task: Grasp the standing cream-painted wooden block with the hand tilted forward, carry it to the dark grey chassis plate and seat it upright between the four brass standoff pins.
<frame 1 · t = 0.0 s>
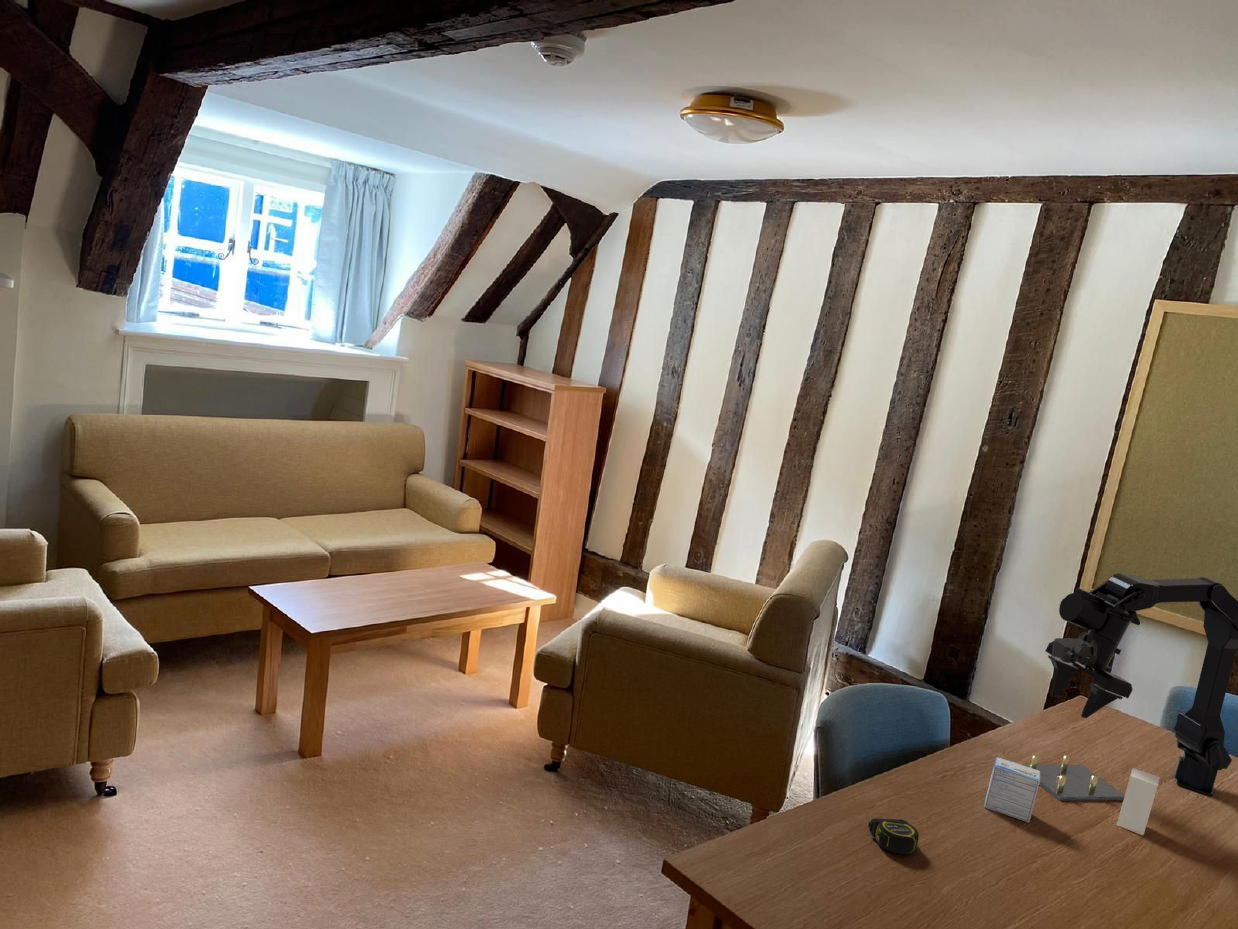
hand: (1068, 706, 190), 15 cm above the table, tool pointing down, fingers open, 9 cm apart
block: (1131, 825, 178), on the table
tape measure: (889, 845, 158), on the table
medicine box: (1006, 812, 176), on the table
chassis: (1070, 783, 191), on the table
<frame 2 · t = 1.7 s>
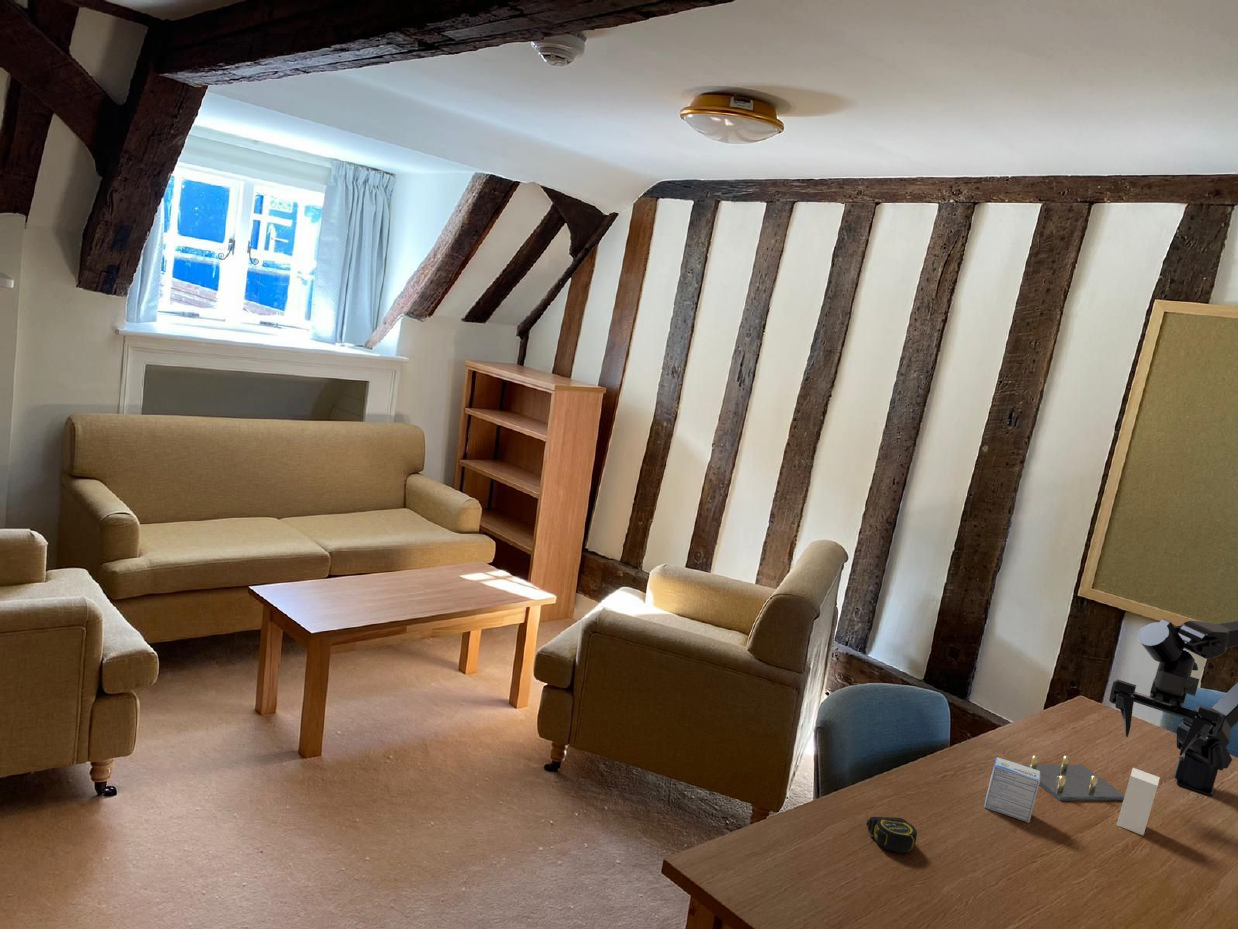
hand: (1153, 745, 183), 13 cm above the table, tool tilted 45°, fingers open, 9 cm apart
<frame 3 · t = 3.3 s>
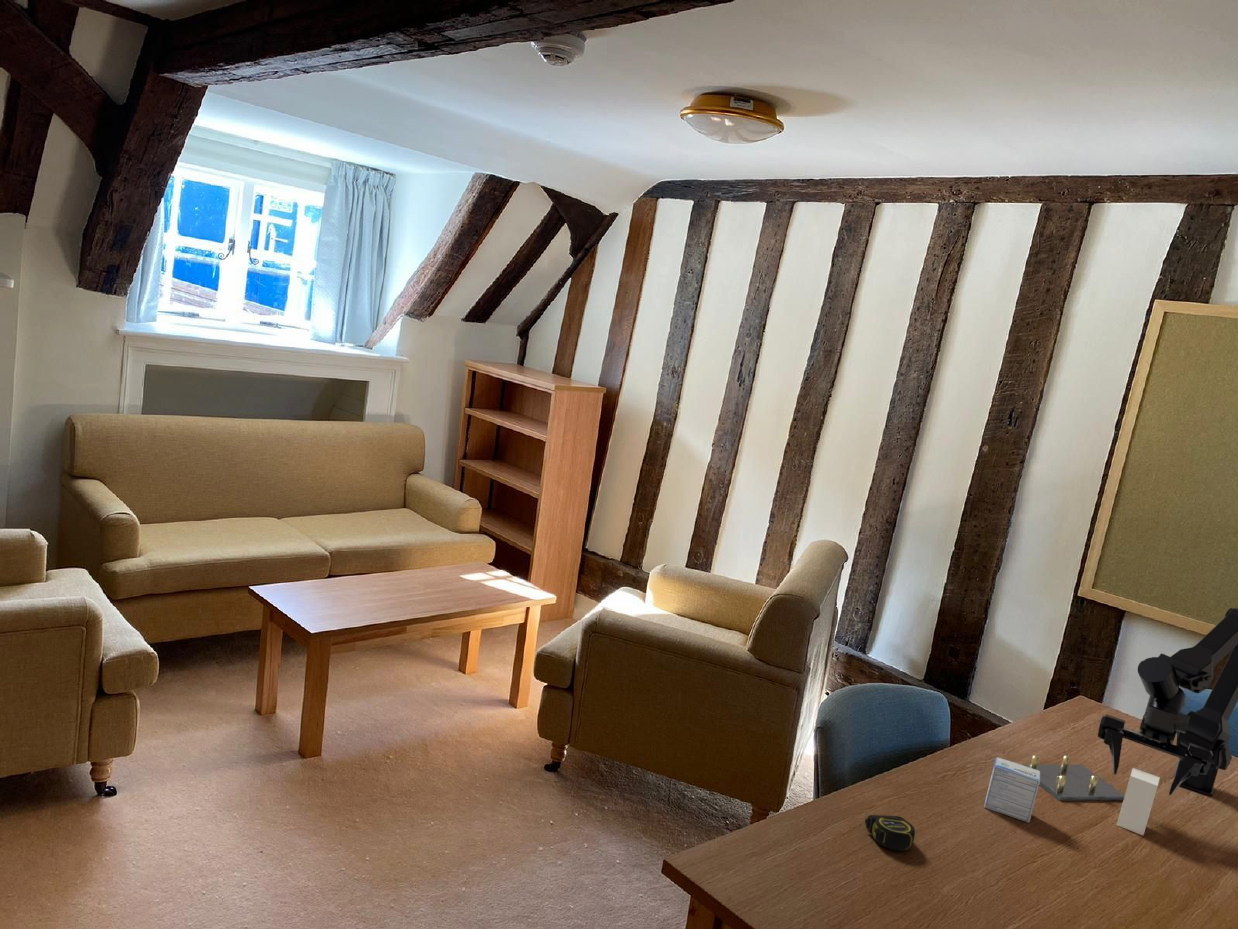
hand: (1142, 783, 177), 8 cm above the table, tool tilted 45°, fingers open, 9 cm apart
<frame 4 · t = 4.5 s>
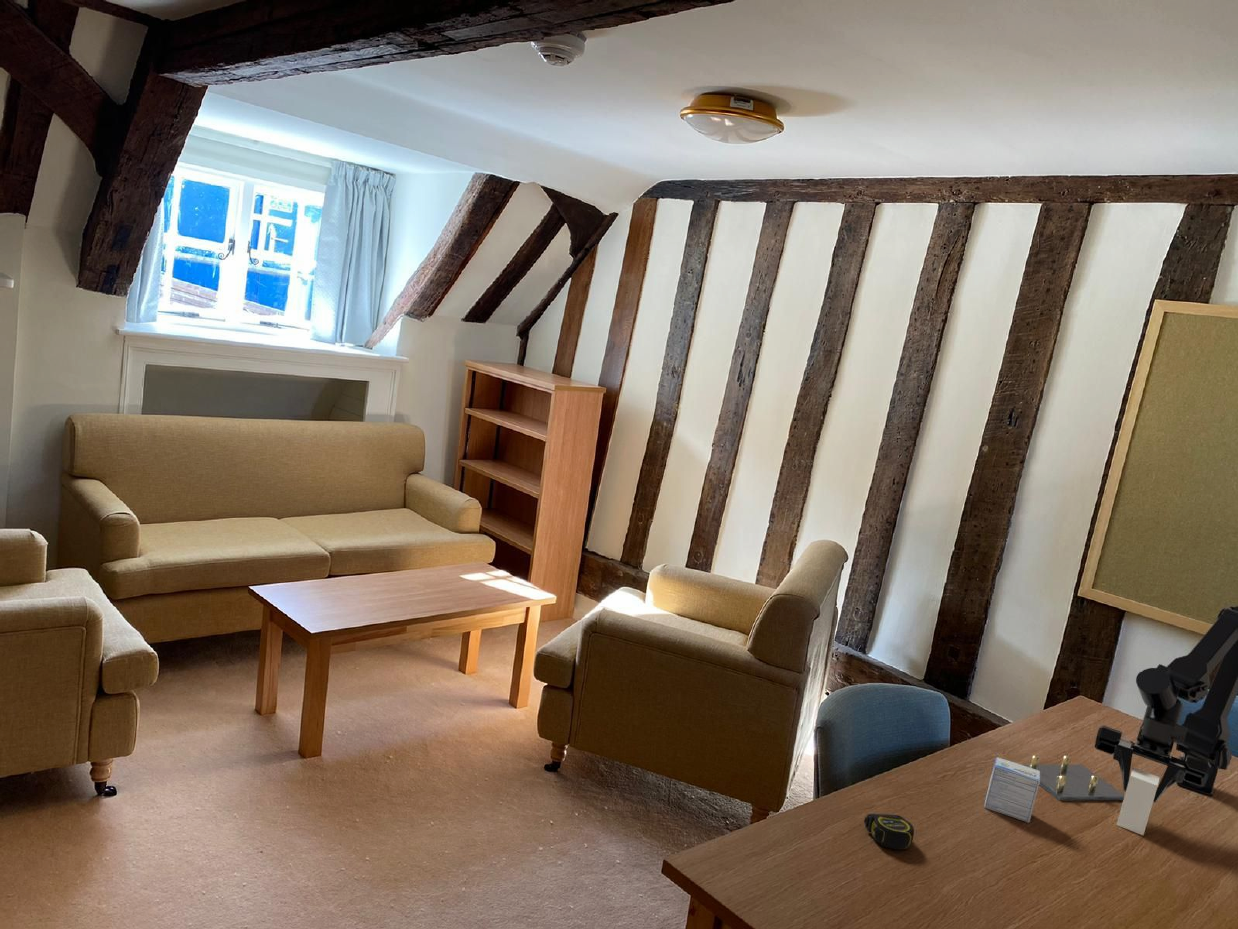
hand: (1139, 796, 176), 7 cm above the table, tool tilted 45°, fingers closed on block, 4 cm apart
block: (1131, 825, 178), on the table, touching gripper
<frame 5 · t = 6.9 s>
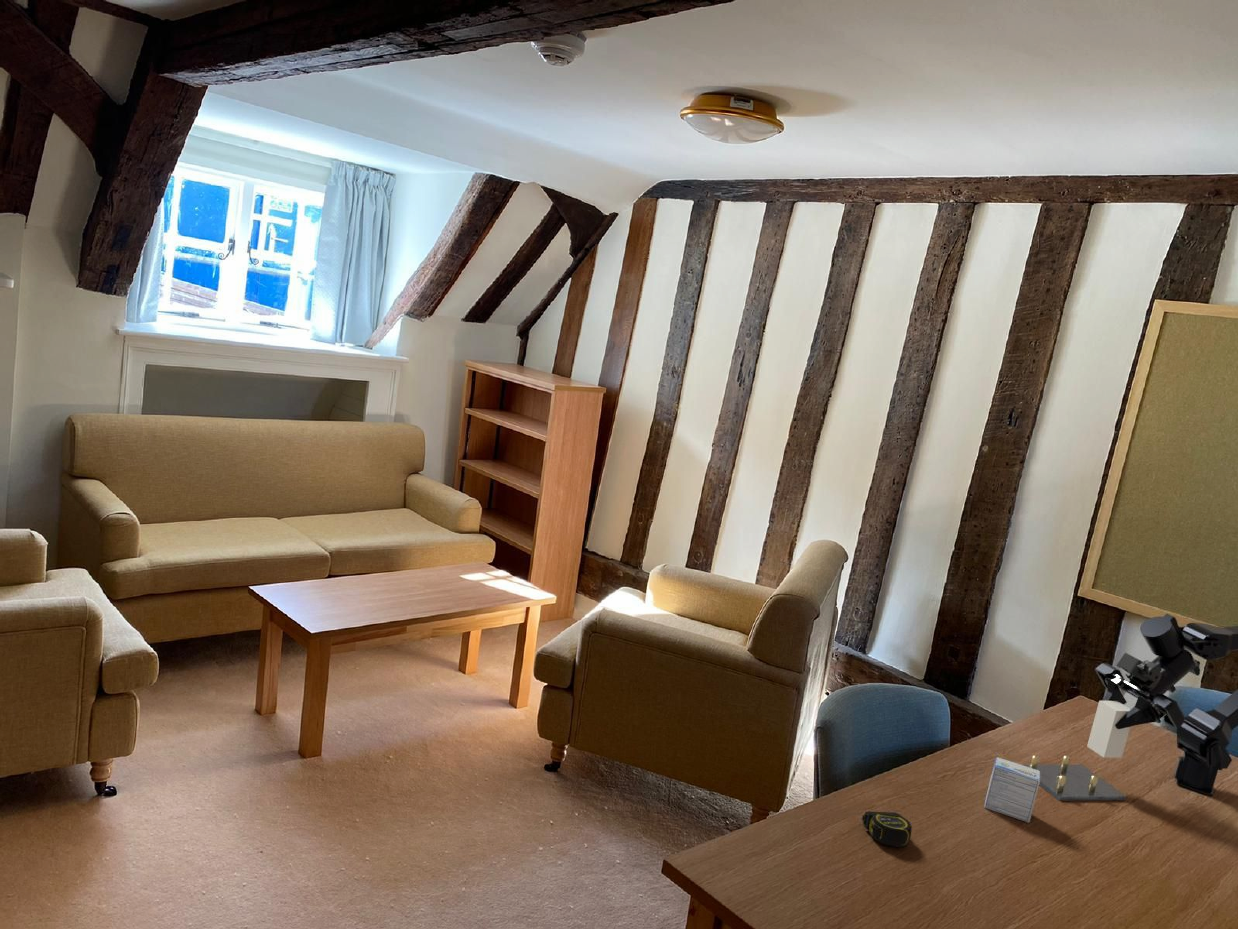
hand: (1107, 721, 190), 14 cm above the table, tool tilted 45°, fingers closed on block, 4 cm apart
block: (1104, 752, 192), point 7 cm above the table, touching gripper
when the fingers open (9 cm above the table, at t = 9.1 s): block drops 1 cm, resting on chassis.
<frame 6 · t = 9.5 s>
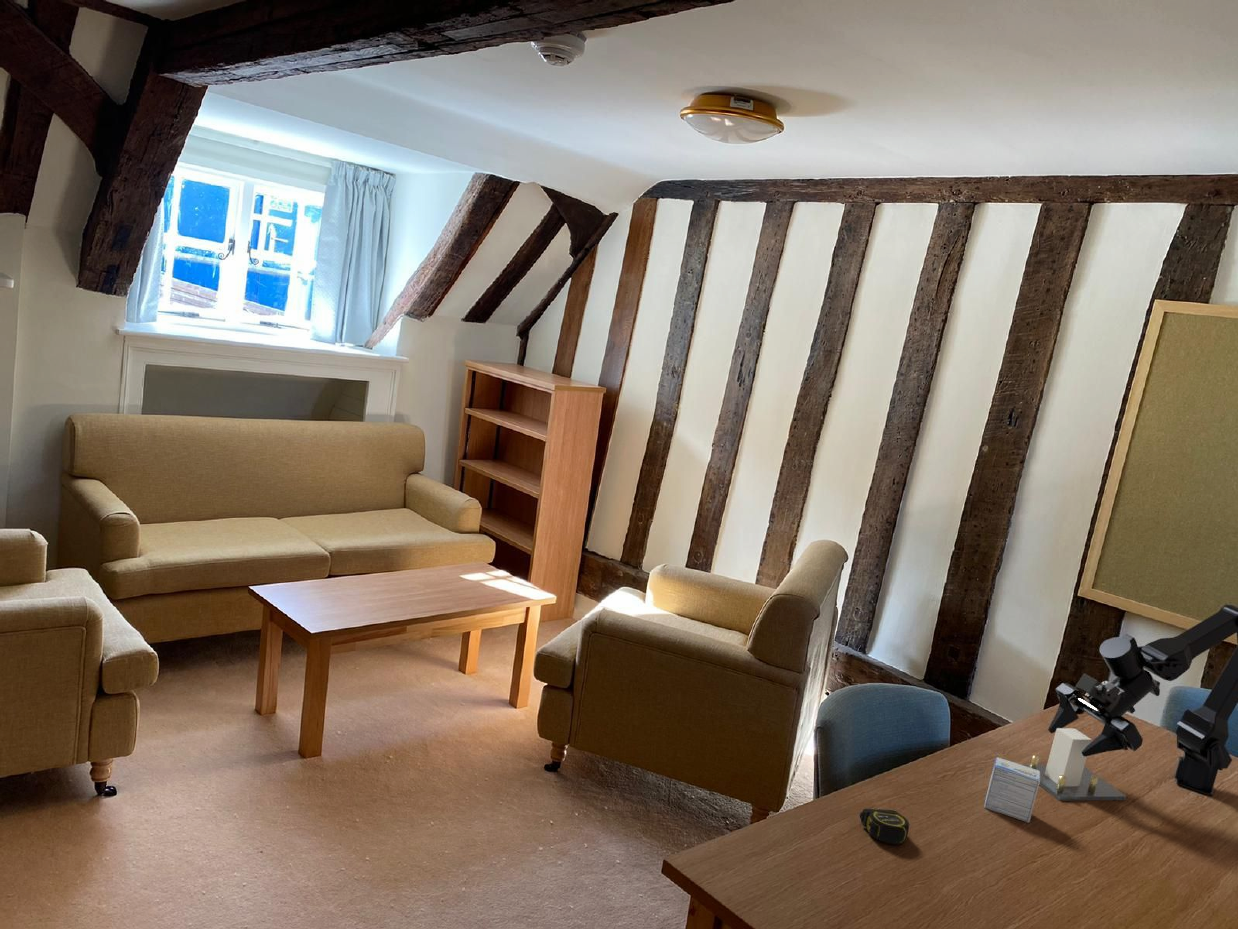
hand: (1065, 743, 189), 9 cm above the table, tool tilted 45°, fingers open, 9 cm apart
block: (1061, 780, 191), point 1 cm above the table, touching chassis
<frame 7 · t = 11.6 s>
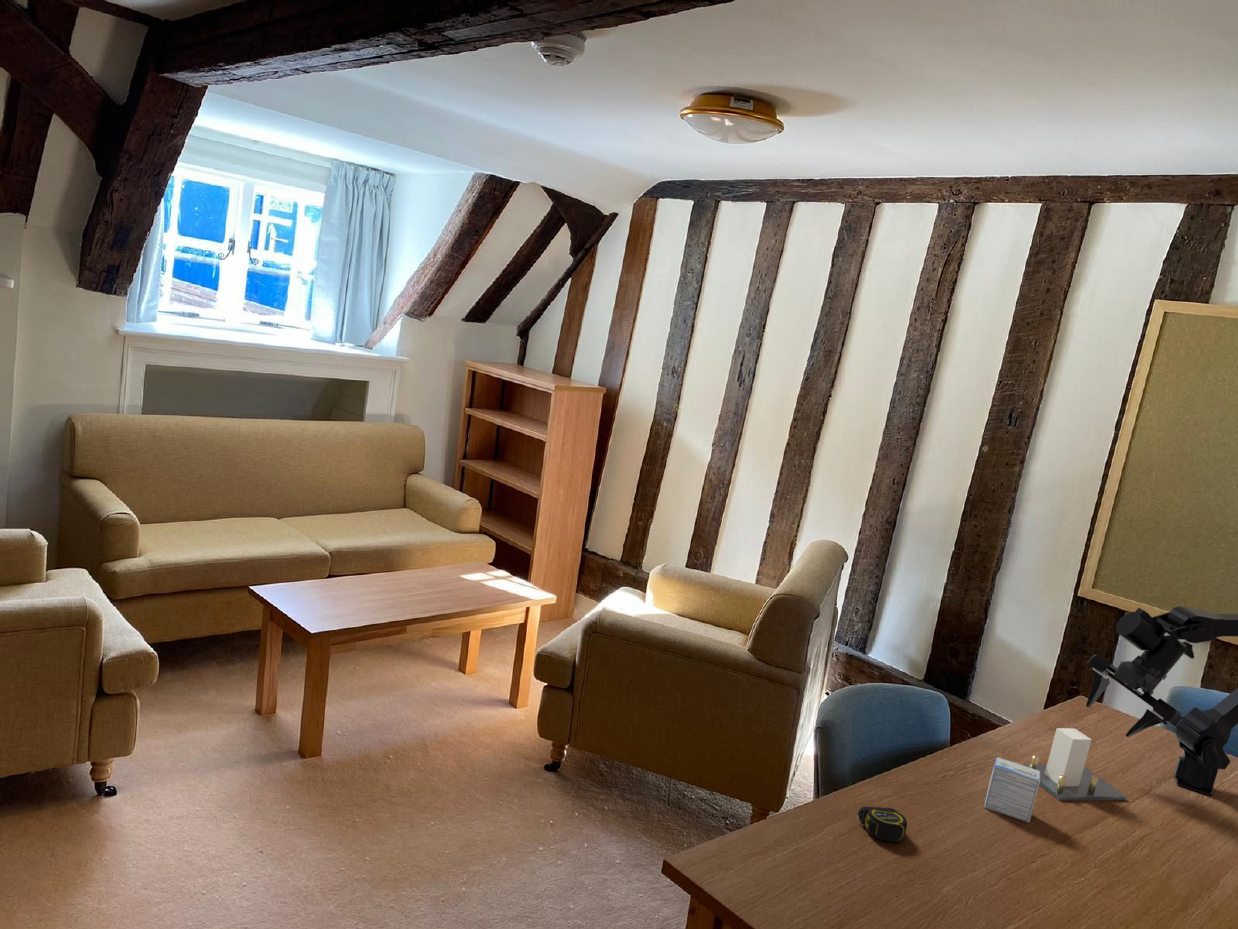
hand: (1106, 721, 196), 11 cm above the table, tool tilted 25°, fingers open, 9 cm apart
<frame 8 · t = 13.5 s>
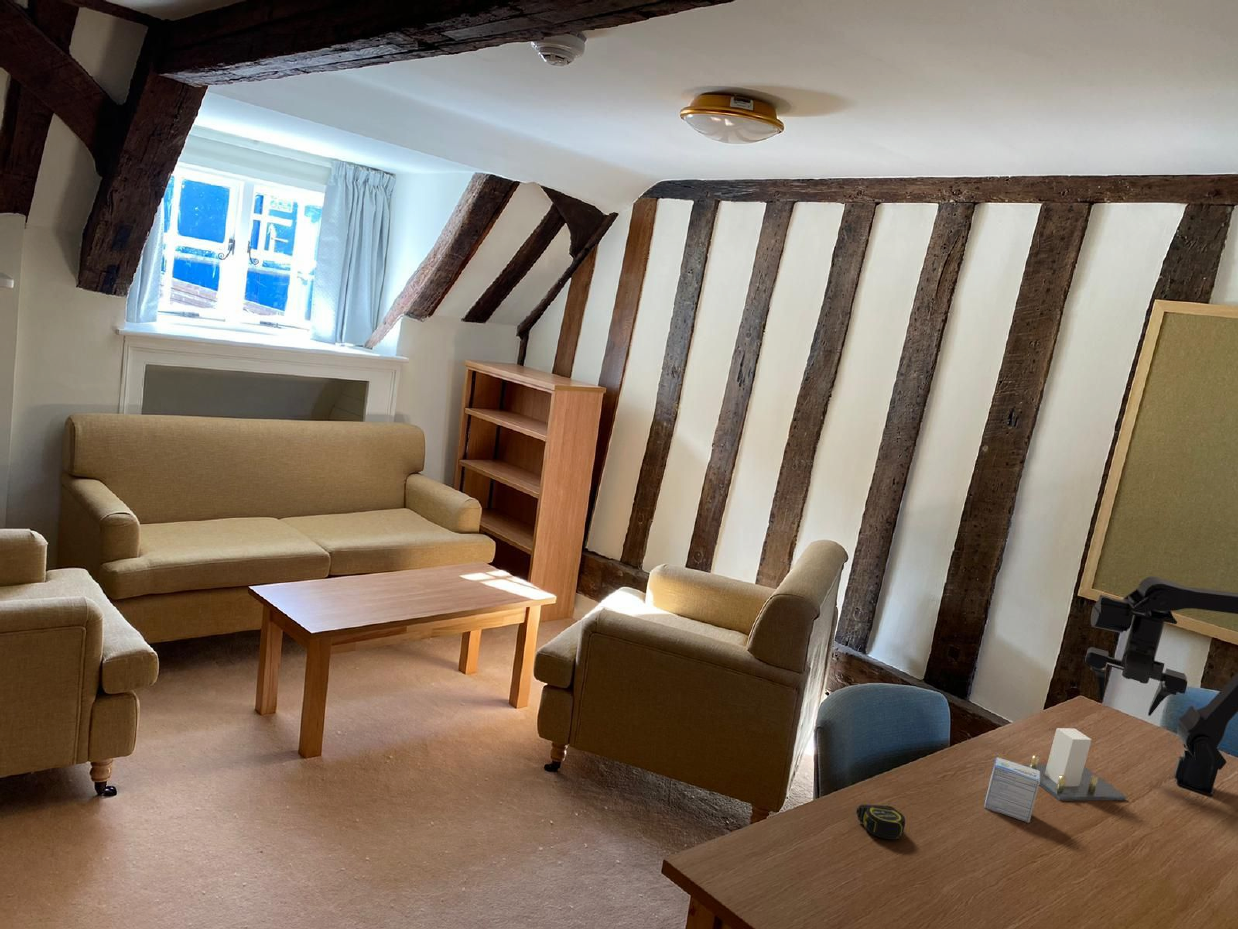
hand: (1124, 707, 201), 13 cm above the table, tool pointing down, fingers open, 9 cm apart
at the end: block 0.1 cm from the target spot, point 0.8 cm above the table; block tilted 0°; the gripper is holding nothing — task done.
